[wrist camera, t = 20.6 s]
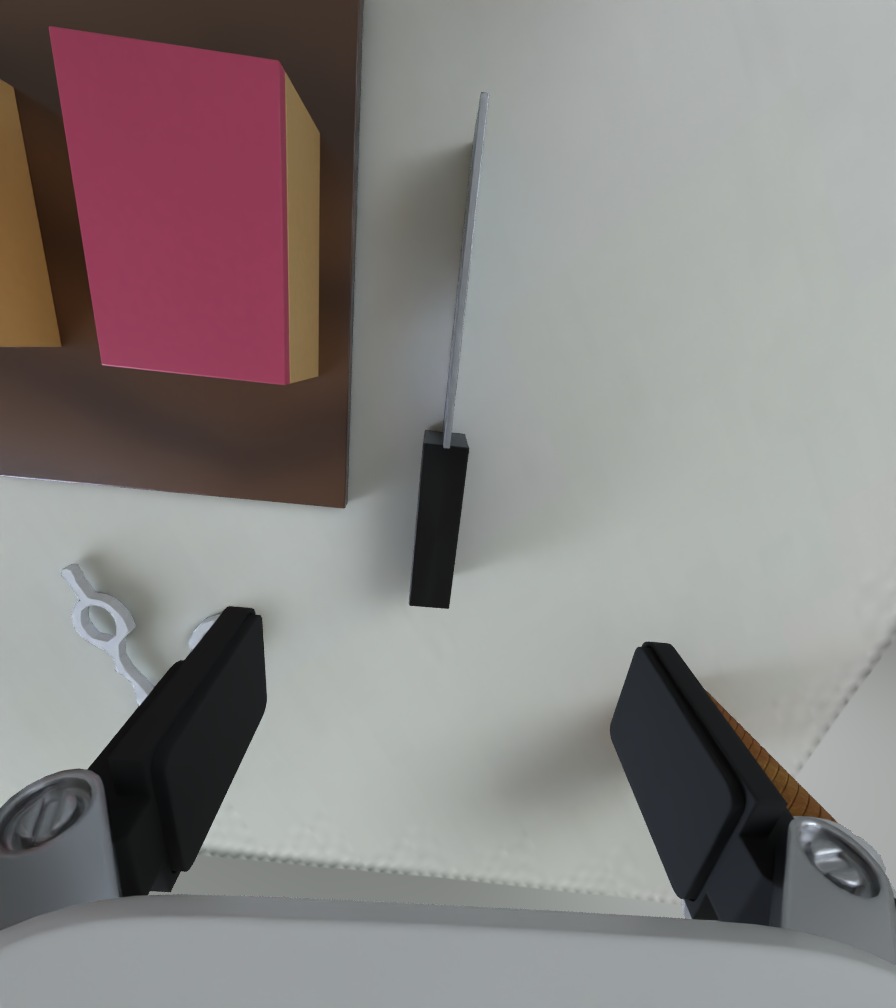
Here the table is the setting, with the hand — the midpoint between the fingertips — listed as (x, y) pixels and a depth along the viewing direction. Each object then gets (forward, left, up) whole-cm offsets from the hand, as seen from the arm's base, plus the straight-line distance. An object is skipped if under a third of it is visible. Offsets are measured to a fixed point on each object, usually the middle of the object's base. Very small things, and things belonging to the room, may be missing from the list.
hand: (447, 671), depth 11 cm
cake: (-10, -10, -14) cm, 20 cm away
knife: (-5, 0, -15) cm, 16 cm away
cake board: (-9, -15, -15) cm, 23 cm away
